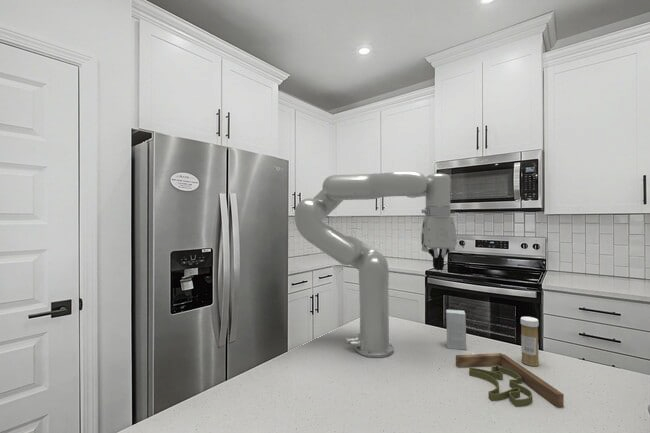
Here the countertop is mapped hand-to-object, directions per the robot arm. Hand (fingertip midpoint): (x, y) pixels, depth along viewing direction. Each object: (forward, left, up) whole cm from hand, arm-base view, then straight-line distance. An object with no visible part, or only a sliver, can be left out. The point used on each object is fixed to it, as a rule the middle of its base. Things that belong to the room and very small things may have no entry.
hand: (438, 269), depth 105 cm
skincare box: (+8, +5, -27) cm, 29 cm away
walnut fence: (+8, -20, -27) cm, 35 cm away
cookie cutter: (+8, -21, -28) cm, 36 cm away
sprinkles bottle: (+24, -9, -27) cm, 37 cm away
